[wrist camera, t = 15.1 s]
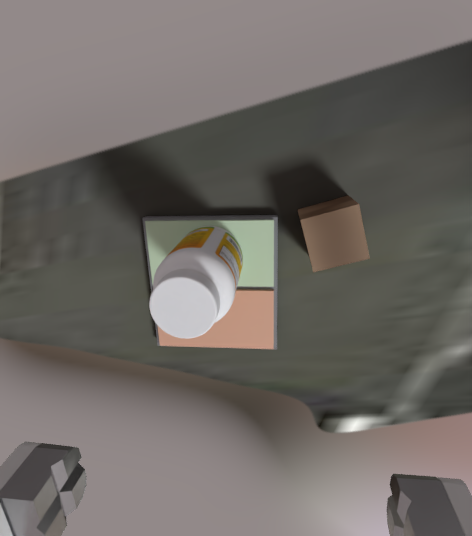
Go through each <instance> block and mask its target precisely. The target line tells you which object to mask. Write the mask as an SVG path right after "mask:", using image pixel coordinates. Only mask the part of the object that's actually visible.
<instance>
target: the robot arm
mask: <svg viewBox="0 0 472 536" xmlns="http://www.w3.org/2000/svg"><path fill="white" fill-rule="evenodd" d="M80 459H81V454H80V451H79V448H76V447H70V446H61V445H53V444H44V443H34V442H24V443H22V444H21V445H19V446H18V447H17V448H16V449H15V451H14V452H13V453H12V454H11V455H10V456H9V457H8V458H7V460H6V461H5V462H4V463H3V464H2V466H0V536H61V535H62V533H63V531H64V530H65V528H66V526H67V522H66V516H67V515H69V514H70V513H71V512H73V511H74V510H75V509H76V508H77V507H78V505H79V503H80V501H81V499H82V497H83V494H84V491H85V487H86V473H85V469H84V468H83V467H82V466H81V465H80V464H79V463H78V462H79V460H80ZM390 488H391V491H392V496H390V497H389V498H388V502H387V522H388V528H389V534H390V536H472V496H471V494H470V492H469V490H468V488H467V486H466V484H465V483H464V482H463V481H462V480H460V479H450V478H436V477H430V476H416V475H403V474H393V475H392V476H391V481H390Z"/></svg>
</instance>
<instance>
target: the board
mask: <svg viewBox="0 0 472 536" xmlns="http://www.w3.org/2000/svg"><path fill="white" fill-rule="evenodd" d="M142 219H143V227H144V236H145V244H146V252H147V260H148V268H149V277H150V285H151V293H152V291H153V280H154V275H155V272H156V270H157V268H158V267H159V265H160V264H161V262H162V261H163V260H164V259H165V257H166V256H167V255H168V254H169V253H170V252H171V251H172V250H173V249H174V248H175V247H176V246H177V244H178V243H179V242H180V241H181V240H182V239H183V238H184V237H185V236H186V235H187V234H188V233H189V232H191V231H192V230H194V229H196V228H199V227H203V226H216V227H220V228H222V229H224V230H226V231H228V232H229V233H231V234H232V235H233V236H234V237H235V238H236V239H237V241H238V242H239V244H240V246H241V249H242V253H243V266H242V270H241V274H240V278H239V281H238V285H237V289H236V293H235V297H234V300H233V303H232V305H231V307H230V309H229V311H228V312H227V313H226V314H225V316H224V317H222V318H221V319H220V320H219V321H217V322H215V323H214V324H213V326H212V327H211V328H210V329H209V330H208V331H207V332H206V333H204V334H203V335H201V336H198V337H195V338H189V339H185V338H178V337H174V336H172V335H170V334H167V333H166V332H164V331H163V330H162V329H161V328H160V327H159V326H158V325H157V324H156V323H155V326H156V334H157V342H158V346H183V347H216V348H249V349H277V263H278V215H225V216H146V217H144V218H142Z"/></svg>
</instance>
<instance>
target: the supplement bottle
mask: <svg viewBox="0 0 472 536" xmlns="http://www.w3.org/2000/svg"><path fill="white" fill-rule="evenodd" d="M242 266H243V253H242V249H241V246H240V244H239V242H238V241H237V239H236V238H235V237H234V236H233V235H232V234H231V233H229V232H228V231H226V230H224V229H222V228H220V227H216V226H203V227H199V228H196V229H194V230H192V231H191V232H189V233H188V234H187V235H186V236H185V237H184V238H183V239H182V240H181V241H180V242H179V243H178V244H177V246H176V247H175V248H174V249H173V250H172V251H171V252H170V253H169V254H168V255H167V256H166V257H165V259H164V260H163V261H162V262H161V264H160V265H159V267H158V268H157V270H156V272H155V275H154V280H153V291H152V293H151V296H150V302H149V307H150V312H151V315H152V318H153V320H154V321H155V323H156V324H157V325H158V326H159V327H160V328H161V329H162V330H163V331H164V332H166V333H167V334H170V335H172V336H174V337H178V338H185V339H189V338H195V337H198V336H201V335H203V334H204V333H206V332H207V331H208V330H209V329H210V328H211V327H212V326H213V324H214V323H215V322H217V321H219V320H220V319H221V318H222V317H224V316H225V314H226V313H227V312H228V311H229V309H230V307H231V305H232V303H233V300H234V297H235V293H236V289H237V285H238V281H239V278H240V274H241V270H242Z"/></svg>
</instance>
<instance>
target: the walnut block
mask: <svg viewBox="0 0 472 536" xmlns="http://www.w3.org/2000/svg"><path fill="white" fill-rule="evenodd" d="M297 210H298V214H299V218H300V222H301V226H302V230H303V234H304V238H305V242H306V246H307V250H308V254H309V258H310V261H311V265H312V268H313V272H316V271H320V270H324V269H329V268H333V267H337V266H341V265H345V264H349V263H354V262H358V261H362V260H366V259H370V257H369V252H368V247H367V242H366V237H365V232H364V227H363V222H362V217H361V212H360V207H359V204H358V203H357V202H356V201H354V200H353V199H352V198H351V197H349V196H344V197H341V198H337V199H333V200H330V201H326V202H323V203H319V204H315V205H312V206H308V207H305V208H301V209H297Z"/></svg>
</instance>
